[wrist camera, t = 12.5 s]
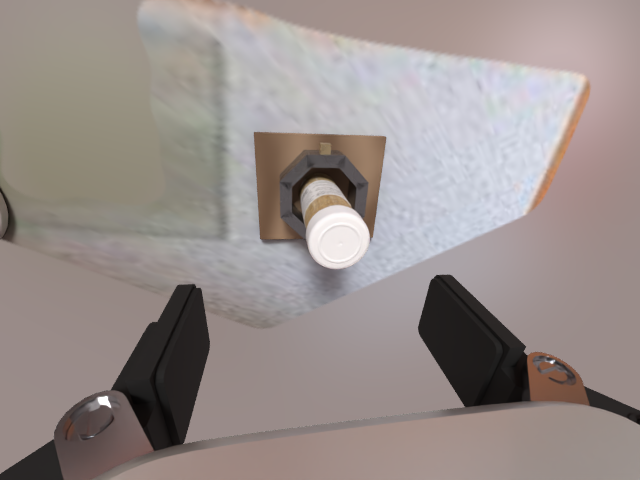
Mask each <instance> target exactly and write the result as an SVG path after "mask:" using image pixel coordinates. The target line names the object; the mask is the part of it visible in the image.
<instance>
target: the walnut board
mask: <svg viewBox="0 0 640 480" xmlns="http://www.w3.org/2000/svg"><path fill="white" fill-rule="evenodd" d="M254 143H255V159H256V176H257V192H258V209H259V225H260V239H304V238H302V237H301V236H300V235H299V234H298V233H297V232H296V231H295V230H294V229H292V228H291V227H290V226H289V225H288V224H287V223H286V222H285V221H284V220H282V219H281V218H280V173H281V172H282V171H283V170H284V169H285V168H286V167H287V166H288V165H289V164H290V163H291V162H292V161H293V160H294V159H295V158H296V157H297V156H298V155H299V154H300V153H301V152H302V151H303V150H319V146H320V143H330V144H331V150H339V151H340V152H341V153H343V154H344V155H345V156H346V157H347V158H348V159H349V160H350V162H351V163H352V164H353V165H354V166H355V167H356V169H357V170H358V171H359V172H360V173H361V174H362V176H363V177H364V178H365V179H366V180H367V181H368V183H369V184H368V192H367V201H366V209H365V217H364V218H363V221H364V222H365V224H366V225H367V227H368V230H369V234H370V237H373V231H374V224H375V217H376V209H377V202H378V195H379V187H380V180H381V173H382V165H383V158H384V150H385V143H386V137H385V136H363V135H332V134H300V133H269V132H254ZM314 173H323V174H326V175H328V176H330V177H331V178H332V179H333V180H334V181H335V183H336V185H337V187H338V188H339V189H340V191H341V192H342V193H343V195H344V196H345V198H346V199H348V187H349V179H348V177H347V176H346V175H345V174H344V173H343V172H342V171H341V170H340V168H311V169H310V170H309V171H308V172H307V173H306V174H305V175H304V176H303V177H302V178H301V179H300V180H299V181H298V182H297V183H296V184H295V185H293V186H292V204H293V205H294V206H295V207H296V208H297V209H298V210H299V211H300V212H302V209H301V201H300V199H299V187H300V184H301V183H302V181H303V180H304V179H305V178H306V177H307V176H309V175H311V174H314Z"/></svg>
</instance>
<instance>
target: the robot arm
mask: <svg viewBox="0 0 640 480" xmlns="http://www.w3.org/2000/svg"><path fill="white" fill-rule="evenodd" d="M7 226H8V211H7V206H6V203H5V201H4V199H3V196H2V194H1V192H0V239H1V238H2V236H3V235H4V234H5V231H6V229H7ZM418 330H419V334H420V336H421V338H422V339H423V341H424V343H425V344H426V346H427V347H428V349H429V351H430V352H431V354H432V355H433V357H434V358H435V360H436V362H437V363H438V365H439V366H440V368H441V369H442V371H443V373H444V374H445V376H446V377H447V379H448V380H449V382H450V384H451V385H452V387H453V388H454V390H455V392H456V393H457V395H458V396H459V398H460V400H461V401H462V403H463V404H464V406H465V407H464V408H455V409H447V410H438V411H429V412H421V413H412V414H403V415H395V416H386V417H379V418H370V419H362V420H354V421H346V422H338V423H329V424H321V425H313V426H305V427H297V428H289V429H281V430H273V431H265V432H258V433H251V434H243V435H237V436H229V437H223V438H216V439H209V440H202V441H197V442H192V443H187V444H183V443H184V441H185V437H186V434H187V430H188V427H189V423H190V419H191V416H192V412H193V408H194V404H195V401H196V397H197V393H198V390H199V386H200V382H201V378H202V375H203V371H204V368H205V364H206V360H207V356H208V353H209V348H210V341H209V334H208V327H207V322H206V315H205V309H204V303H203V296H202V291H201V288H196V286H195V284H188V285H178V286H177V287H176V289H175V291H174V292H173V294H172V296H171V298H170V300H169V302H168V304H167V305H166V307H165V309H164V311H163V313H162V314H161V316H160V318H159V320H158V322H152V323H150V324H149V325H148V327H147V328H146V330H145V332H144V333H143V335H142V337H141V339H140V340H139V342H138V344H137V346H136V347H135V349H134V351H133V353H132V354H131V356H130V358H129V360H128V361H127V363H126V365H125V366H124V368H123V370H122V371H121V373H120V375H119V377H118V378H117V380H116V382H115V384H114V385H113V387H112V389H111V390H109V391H108V390H107V391H102V392H99V393H95V394H93V395H91V396H89V397H86V398H84V399H83V400H81V401H80V402H78V403H77V404H75V405H74V406H73V407H72V408H71V409H70V410H69V411H67V412H66V413H65V415H64V416H63V417H62V418H61V420H60V421H59V422H58V424H57V426H56V429H55V431H54V439H53V440H52V441H50V442H49V443H47V444H45V445H44V446H43V447H41V448H39V449H38V450H36V451H35V452H33V453H32V454H30V455H29V456H27V457H25V458H24V459H22V460H21V461H19V462H18V463H16V464H15V465H13V466H12V467H10V468H9V469H7V470H5V471H4V472H2V473H1V474H0V480H640V411H639V410H637V409H635V408H632V407H630V406H628V405H625V404H623V403H621V402H618V401H616V400H614V399H612V398H609V397H607V396H605V395H603V394H600V393H598V392H596V391H594V390H591V389H589V388H587V387H585V386H584V385H583V381H582V379H581V377H580V376H579V374H578V373H577V372H576V371H575V370H574V369H573V368H572V367H571V366H570V365H568V364H567V363H565V362H564V361H562V360H561V359H559V358H557V357H554V356H552V355H549V354H546V353H542V352H533V353H530V354H529V355H528V356H527V355H526V354H525V353H524V350H525V348H526V346H525V345H524V344H523V343H522V342H521V341H520V340H519V339H518V338H517V337H515V336H514V335H513V334H512V333H511V332H510V331H509V330H508V329H507V328H506V327H505V326H504V325H503V324H502V323H501V322H500V321H499V320H498V319H497V318H496V317H495V316H493V315H492V314H491V313H490V312H489V311H488V310H487V309H486V308H485V307H484V306H483V305H482V304H481V303H480V302H479V301H478V300H477V299H476V298H475V297H474V296H473V295H472V294H470V292H468V291H467V290H466V289H465V288H464V287H463V286H462V285H461V284H460V283H459V282H458V281H457V280H456V279H455V278H454V277H453V276H451V275H436V276H435V277H434V279H432V280H431V282H430V285H429V289H428V293H427V296H426V300H425V304H424V308H423V311H422V315H421V319H420V322H419V326H418Z"/></svg>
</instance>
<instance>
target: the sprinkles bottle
mask: <svg viewBox="0 0 640 480" xmlns="http://www.w3.org/2000/svg"><path fill="white" fill-rule="evenodd" d="M299 199H300V201H301V209H302V214H303V219H304V224H305V227H306V241H307V245H308V249H309V252H310V254H311V256H312V258H313V259H314V260H315V261H316V262H317V263H318V264H320V265H322V266H324V267H326V268H330V269H343V268H347V267H350V266H352V265H354V264H355V263H357V262H358V261H359V260H360V259H361V258H362V257H363V256H364V255H365V253H366V251H367V249H368V247H369V243H370V234H369V230H368V227H367V225H366V224H365V222H364V221H363V219H362V218H361V216H360V215H359V214H358V213H357V212H356V211H355V210H353V209H352V208H351V205H350V203H349V202H348V201H347V199H346V198H345V196H344V195H343V193H342V192H341V191H340V189H339V188H338V187H337V185H336V183H335V181H334V180H333V179H332V178H331V177H330V176H328V175H326V174H323V173H314V174H311V175H309V176H307V177H306V178H305V179H304V180H303V181H302V183H301V184H300V187H299Z"/></svg>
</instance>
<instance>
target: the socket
mask: <svg viewBox="0 0 640 480" xmlns="http://www.w3.org/2000/svg"><path fill="white" fill-rule="evenodd" d="M311 168H340V170H341V171H342V172H343V173H344V174H345V175H346V176H347V177H348V179H349V187H348V199H347V201H348V202H349V203H350V205H351V208H352V209H353V210H355V211H356V212H357V213H358V214H359V215H360V216H361V218H362V219H363V218H364V217H365V209H366V201H367V192H368V184H369V183H368V181H367V180H366V179H365V178H364V177H363V176H362V174H361V173H360V172H359V171H358V170H357V169H356V167H355V166H354V165H353V164H352V163H351V162H350V160H349V159H348V158H347V157H346V156H345V155H344V154H343V153H341V152H340V151H339V150H331V144H330V143H320V146H319V150H303V151H302V152H301V153H300V154H299V155H298V156H297V157H296V158H295V159H294V160H293V161H292V162H291V163H290V164H289V165H288V166H287V167H286V168H285V169H284V170H283V171H282V172H281V173H280V218H281V219H282V220H284V221H285V222H286V223H287V224H288V225H289V226H290V227H291V228H292V229H294V230H295V231H296V232H297V233H298V234H299V235H300V236H301V237H302V238H304V239H305V240H306V227H305V224H304V219H303V214H302V212H300V211H299V210H298V209H297V208H296V207H295V206H294V205H293V204H292V186H293V185H295V184H296V183H297V182H298V181H299V180H300V179H301V178H302V177H303V176H304V175H305V174H306V173H307V172H308V171H309V170H310V169H311Z"/></svg>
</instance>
